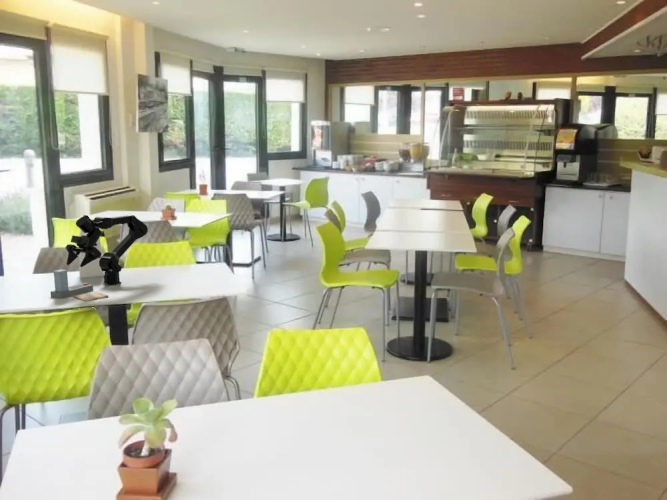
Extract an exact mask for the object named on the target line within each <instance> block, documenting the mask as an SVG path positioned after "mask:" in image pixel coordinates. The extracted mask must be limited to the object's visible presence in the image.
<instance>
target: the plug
mask: <svg viewBox="0 0 667 500" xmlns="http://www.w3.org/2000/svg"><path fill="white" fill-rule="evenodd" d="M53 281H54V290H55V292H60V293H62V292H66V291H69V289H68V287H69V279H68V270H67V269H57V270H53Z"/></svg>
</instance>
